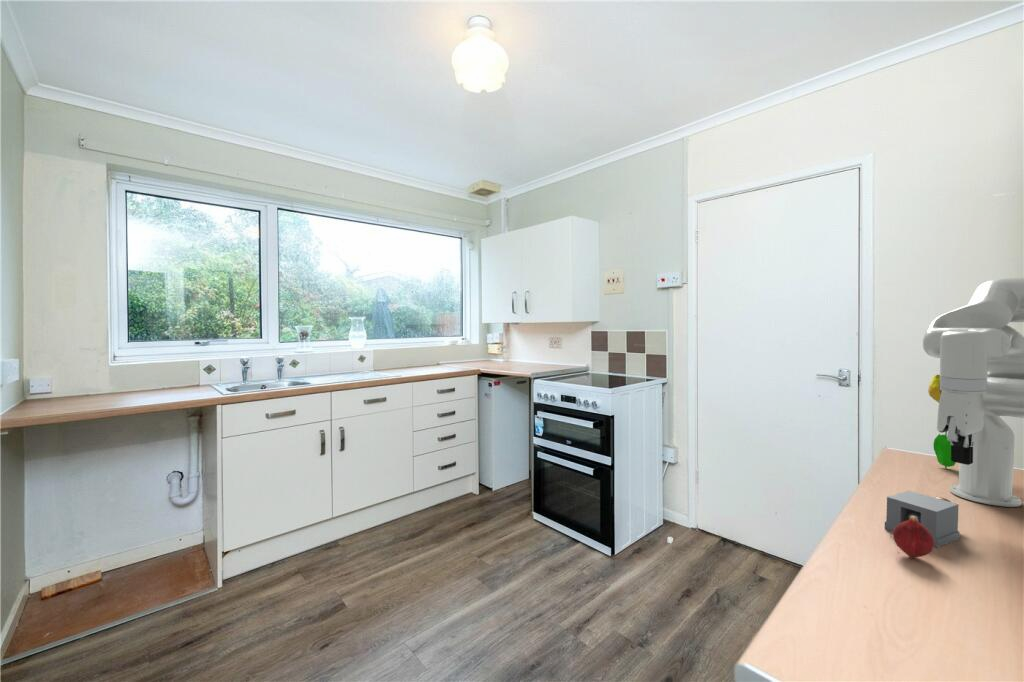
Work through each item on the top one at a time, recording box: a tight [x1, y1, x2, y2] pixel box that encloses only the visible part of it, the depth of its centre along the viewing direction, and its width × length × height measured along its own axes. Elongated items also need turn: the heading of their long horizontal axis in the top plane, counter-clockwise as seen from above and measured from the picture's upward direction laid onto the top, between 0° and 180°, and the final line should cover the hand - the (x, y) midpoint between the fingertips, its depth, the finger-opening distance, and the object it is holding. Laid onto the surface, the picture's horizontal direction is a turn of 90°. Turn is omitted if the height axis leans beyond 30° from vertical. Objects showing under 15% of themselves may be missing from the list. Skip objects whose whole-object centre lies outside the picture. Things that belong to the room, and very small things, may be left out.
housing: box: [884, 490, 961, 548], centre depth 93 cm, size 9×9×7 cm
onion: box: [892, 516, 935, 559], centre depth 83 cm, size 6×6×8 cm
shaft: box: [907, 496, 952, 523], centre depth 94 cm, size 13×5×5 cm, turn 114°
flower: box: [927, 374, 957, 469], centre depth 136 cm, size 9×8×30 cm
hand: (961, 462), depth 101 cm, fingers closed
